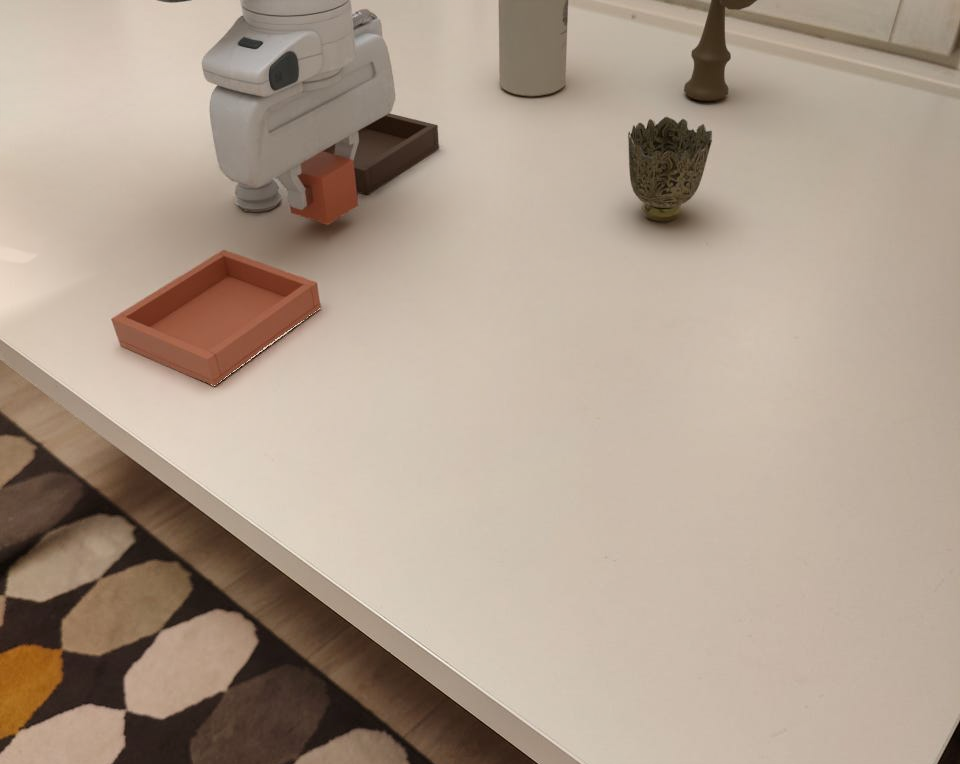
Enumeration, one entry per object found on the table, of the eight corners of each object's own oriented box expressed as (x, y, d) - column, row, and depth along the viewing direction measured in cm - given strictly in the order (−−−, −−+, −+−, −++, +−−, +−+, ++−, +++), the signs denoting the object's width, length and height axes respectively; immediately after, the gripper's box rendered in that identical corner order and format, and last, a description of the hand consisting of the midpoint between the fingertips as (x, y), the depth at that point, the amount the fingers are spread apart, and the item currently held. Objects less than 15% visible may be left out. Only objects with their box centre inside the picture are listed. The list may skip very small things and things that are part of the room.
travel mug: (490, 94, 113) (487, -76, 100) (510, 70, 118) (510, -94, 106) (555, 101, 111) (560, -72, 98) (572, 76, 116) (579, -91, 104)
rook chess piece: (257, 189, 96) (241, 110, 91) (291, 198, 94) (277, 119, 89) (227, 207, 93) (209, 127, 88) (262, 217, 92) (246, 137, 86)
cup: (605, 216, 90) (611, 134, 85) (653, 190, 94) (662, 109, 88) (668, 242, 86) (679, 158, 81) (716, 214, 90) (729, 131, 84)
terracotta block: (328, 225, 87) (321, 178, 84) (290, 213, 89) (283, 167, 85) (358, 205, 89) (353, 159, 86) (321, 194, 91) (315, 148, 88)
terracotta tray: (214, 387, 72) (207, 359, 70) (120, 345, 76) (110, 318, 75) (321, 309, 80) (317, 282, 78) (229, 275, 84) (223, 249, 82)
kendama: (702, 115, 107) (729, -86, 93) (663, 85, 114) (684, -107, 100) (749, 107, 108) (783, -93, 94) (708, 78, 115) (734, -113, 101)
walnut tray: (367, 195, 95) (364, 170, 93) (287, 171, 99) (283, 147, 97) (439, 148, 102) (437, 124, 100) (362, 128, 106) (359, 105, 105)
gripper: (349, -3, 86) (364, 145, 95) (184, 67, 74) (220, 229, 83) (405, 8, 83) (415, 159, 93) (244, 83, 71) (274, 248, 80)
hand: (322, 193), depth 88 cm, fingers closed on terracotta block, 4 cm apart
